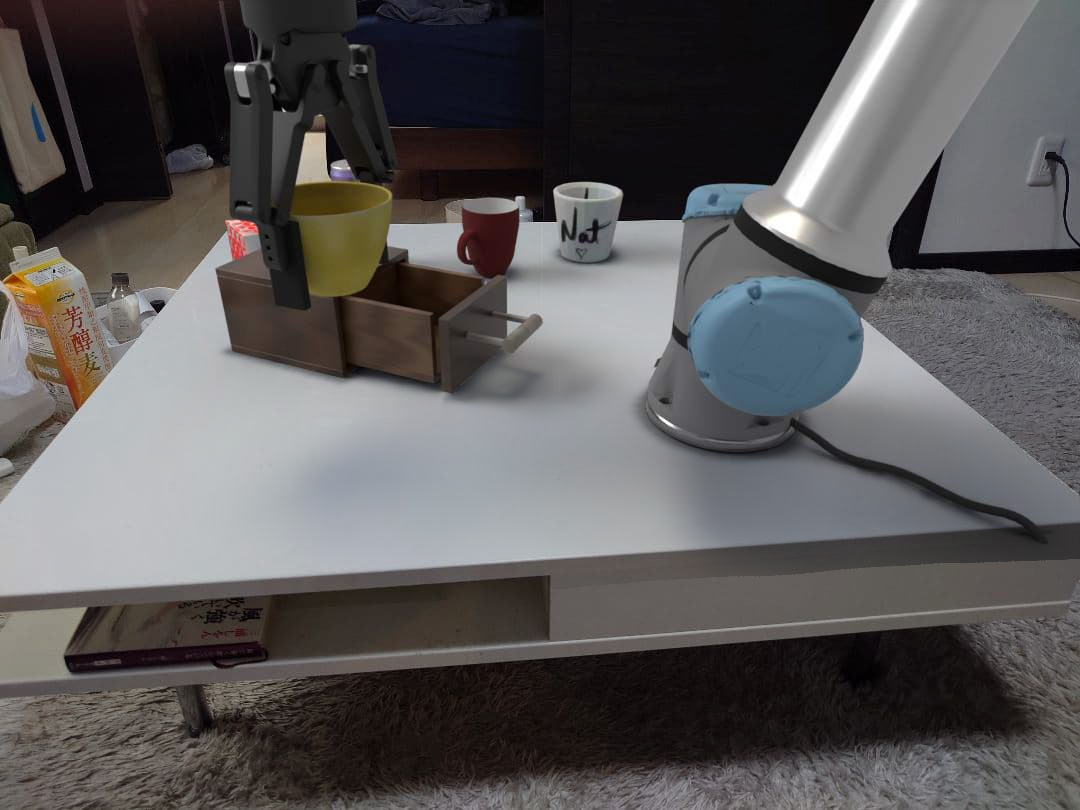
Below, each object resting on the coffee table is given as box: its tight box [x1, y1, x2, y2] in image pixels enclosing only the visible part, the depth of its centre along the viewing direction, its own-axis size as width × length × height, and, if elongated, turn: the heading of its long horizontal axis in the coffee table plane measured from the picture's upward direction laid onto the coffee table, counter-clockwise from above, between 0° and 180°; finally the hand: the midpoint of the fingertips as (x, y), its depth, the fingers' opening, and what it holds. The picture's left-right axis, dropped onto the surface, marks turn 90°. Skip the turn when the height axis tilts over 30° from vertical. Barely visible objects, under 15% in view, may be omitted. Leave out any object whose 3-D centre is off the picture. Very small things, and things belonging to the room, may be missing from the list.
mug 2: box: [552, 181, 624, 263], centre depth 120 cm, size 10×15×10 cm
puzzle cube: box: [225, 218, 261, 261], centre depth 108 cm, size 8×8×8 cm
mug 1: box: [456, 197, 520, 279], centre depth 109 cm, size 11×8×10 cm
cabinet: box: [214, 245, 410, 379], centre depth 90 cm, size 16×15×10 cm
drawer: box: [338, 261, 544, 395], centre depth 85 cm, size 20×13×8 cm, turn 67°
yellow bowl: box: [271, 180, 393, 297], centre depth 60 cm, size 10×10×7 cm
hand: (336, 282), depth 62 cm, fingers closed on yellow bowl, 10 cm apart
